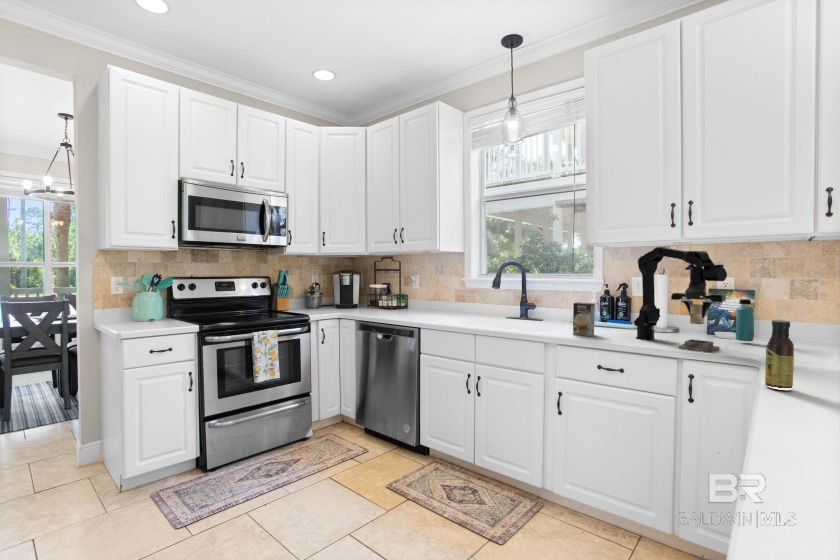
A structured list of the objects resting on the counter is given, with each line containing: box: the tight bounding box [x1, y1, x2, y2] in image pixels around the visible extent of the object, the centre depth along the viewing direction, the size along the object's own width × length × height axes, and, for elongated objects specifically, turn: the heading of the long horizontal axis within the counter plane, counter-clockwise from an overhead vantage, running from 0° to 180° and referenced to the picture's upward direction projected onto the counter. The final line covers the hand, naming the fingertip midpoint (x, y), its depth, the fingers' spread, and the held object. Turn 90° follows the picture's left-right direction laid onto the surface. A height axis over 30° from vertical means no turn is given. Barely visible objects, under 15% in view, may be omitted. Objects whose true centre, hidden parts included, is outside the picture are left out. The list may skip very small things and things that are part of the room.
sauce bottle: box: [764, 319, 795, 389], centre depth 125 cm, size 7×6×20 cm
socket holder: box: [677, 338, 720, 353], centre depth 185 cm, size 12×12×3 cm
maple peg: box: [689, 303, 705, 325], centre depth 185 cm, size 4×4×8 cm
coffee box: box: [572, 301, 596, 337], centre depth 222 cm, size 9×6×16 cm
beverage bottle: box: [735, 298, 755, 342], centre depth 197 cm, size 6×7×20 cm
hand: (697, 317), depth 185 cm, fingers closed on maple peg, 4 cm apart
